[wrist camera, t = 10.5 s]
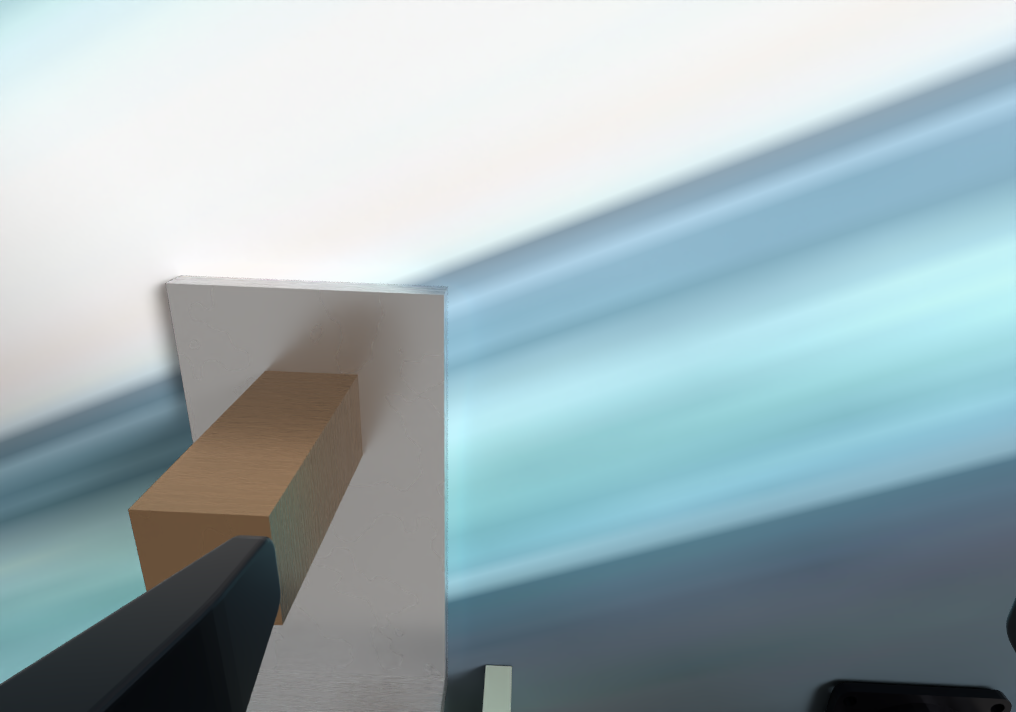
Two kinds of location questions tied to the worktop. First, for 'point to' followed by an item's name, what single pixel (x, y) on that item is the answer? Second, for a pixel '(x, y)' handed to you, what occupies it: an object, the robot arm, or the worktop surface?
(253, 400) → the metal bookend
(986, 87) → the worktop surface
